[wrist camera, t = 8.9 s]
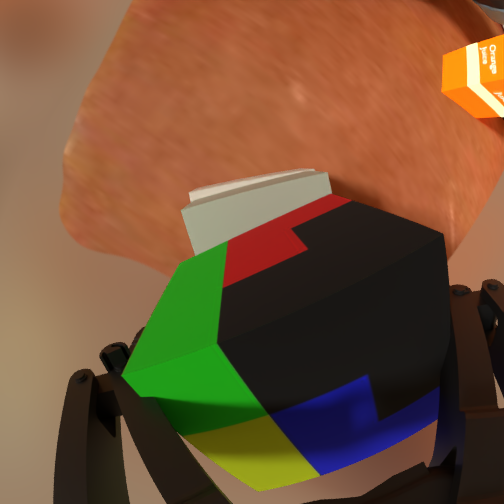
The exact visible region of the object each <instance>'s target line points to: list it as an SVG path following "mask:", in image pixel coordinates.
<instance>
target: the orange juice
mask: <svg viewBox="0 0 504 504" xmlns="http://www.w3.org/2000/svg"><path fill="white" fill-rule="evenodd" d="M442 93H444V94H445V95H447V96H448V97H449V98H451V99H452V100H453V101H455V102H456V103H457V104H459V105H460V106H461V107H463V108H464V109H465V110H466V111H468V112H469V113H470V114H471V115H473V116H474V117H475V118H487V117H504V35H501V36H497V37H494V38H491V39H487V40H484V41H481V42H478V43H474V44H471V45H468V46H466V47H464V48H461V49H458V50H456V51H453V52H451V53H448V54H445V55H443V78H442Z"/></svg>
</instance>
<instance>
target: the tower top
mask: <svg viewBox="0 0 504 504" xmlns="http://www.w3.org/2000/svg"><path fill="white" fill-rule="evenodd" d="M328 194H332V191H331V186H330V182H329V177H328V172H318V171H304V172H299V173H295V174H291V175H286V176H282V177H278V178H274V179H270V180H266V181H262V182H258V183H254V184H250V185H246V186H242V187H239V188H235V189H231V190H228V191H224V192H220V193H217V194H213V195H210V196H206V197H203V198H200V199H196V200H193V201H192V202H191V203H190V204H188V205H187V206H186V207H184V208H183V209H182V210H181V212H182V215H183V219H184V222H185V225H186V228H187V231H188V234H189V237H190V240H191V244H192V247H193V250H194V253H195V256H196V255H198V254H200V253H202V252H204V251H207V250H209V249H211V248H213V247H215V246H217V245H219V244H221V243H223V242H226V241H228V240H230V239H232V238H234V237H236V236H238V235H240V234H243V233H245V232H247V231H249V230H251V229H253V228H255V227H258V226H260V225H262V224H264V223H266V222H268V221H271V220H273V219H275V218H277V217H279V216H282V215H284V214H286V213H288V212H290V211H293V210H295V209H297V208H299V207H301V206H304V205H306V204H308V203H310V202H312V201H315V200H317V199H319V198H321V197H324V196H326V195H328Z"/></svg>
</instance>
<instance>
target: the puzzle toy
mask: <svg viewBox="0 0 504 504" xmlns="http://www.w3.org/2000/svg"><path fill="white" fill-rule="evenodd" d="M449 341H450V290H449V276H448V265H447V256H446V248H445V241H444V235H443V233H440V232H438V231H436V230H433V229H431V228H428V227H426V226H423V225H421V224H418V223H415V222H413V221H410V220H407V219H405V218H402V217H399V216H397V215H394V214H391V213H388V212H386V211H383V210H380V209H377V208H374V207H371V206H368V205H365V204H362V203H359V202H356V201H353V200H350V199H347V198H343V197H340V196H337V195H334V194H328V195H326V196H324V197H321V198H319V199H317V200H315V201H312V202H310V203H308V204H306V205H304V206H301V207H299V208H297V209H295V210H293V211H290V212H288V213H286V214H284V215H282V216H279V217H277V218H275V219H273V220H271V221H268V222H266V223H264V224H262V225H260V226H258V227H255V228H253V229H251V230H249V231H247V232H245V233H243V234H240V235H238V236H236V237H234V238H232V239H230V240H228V241H226V242H223V243H221V244H219V245H217V246H215V247H213V248H211V249H209V250H207V251H204V252H202V253H200V254H198V255H196V256H194V257H192V258H190V259H188V260H186V261H184V262H182V263H180V264H179V266H178V267H177V269H176V271H175V273H174V274H173V276H172V278H171V280H170V282H169V283H168V285H167V287H166V289H165V291H164V292H163V294H162V296H161V298H160V300H159V302H158V304H157V305H156V307H155V309H154V311H153V313H152V315H151V317H150V319H149V321H148V322H147V324H146V326H145V328H144V330H143V332H142V334H141V336H140V338H139V340H138V342H137V344H136V346H135V348H134V350H133V352H132V354H131V356H130V358H129V360H128V362H127V364H126V366H125V369H124V371H123V373H122V375H121V376H122V377H123V378H124V379H125V380H126V382H127V383H128V384H129V385H130V386H131V387H132V388H133V389H134V390H135V391H136V392H137V394H138V395H139V396H140V397H154V398H155V399H156V401H157V403H158V404H159V406H160V408H161V409H162V411H163V412H164V414H165V415H166V417H167V418H168V420H169V421H170V423H171V424H172V426H173V427H174V429H175V430H176V431H177V432H178V433H179V434H180V435H181V436H182V437H183V438H185V439H186V440H187V441H188V442H189V443H191V444H192V445H193V446H194V447H195V448H197V449H198V450H199V451H200V452H202V453H203V454H204V455H205V456H207V457H208V458H209V459H211V460H212V461H213V462H215V463H216V464H217V465H219V466H220V467H222V468H223V469H224V470H226V471H227V472H229V473H230V474H232V475H233V476H234V477H236V478H237V479H239V480H240V481H242V482H244V483H245V484H247V485H248V486H250V487H252V488H253V489H255V490H256V491H258V492H259V491H264V490H269V489H274V488H278V487H282V486H287V485H290V484H294V483H298V482H302V481H305V480H308V479H312V478H315V477H318V476H321V475H324V474H327V473H330V472H333V471H336V470H338V469H341V468H343V467H346V466H349V465H351V464H354V463H356V462H358V461H361V460H363V459H365V458H368V457H370V456H372V455H374V454H376V453H378V452H381V451H383V450H385V449H387V448H389V447H391V446H393V445H395V444H397V443H398V442H400V441H402V440H404V439H406V438H408V437H409V436H411V435H413V434H415V433H416V432H418V431H420V430H421V429H423V428H425V427H426V426H427V425H429V424H431V423H432V422H434V421H435V420H437V419H438V411H439V394H440V373H441V370H442V366H443V363H444V360H445V356H446V352H447V349H448V345H449Z"/></svg>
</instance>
